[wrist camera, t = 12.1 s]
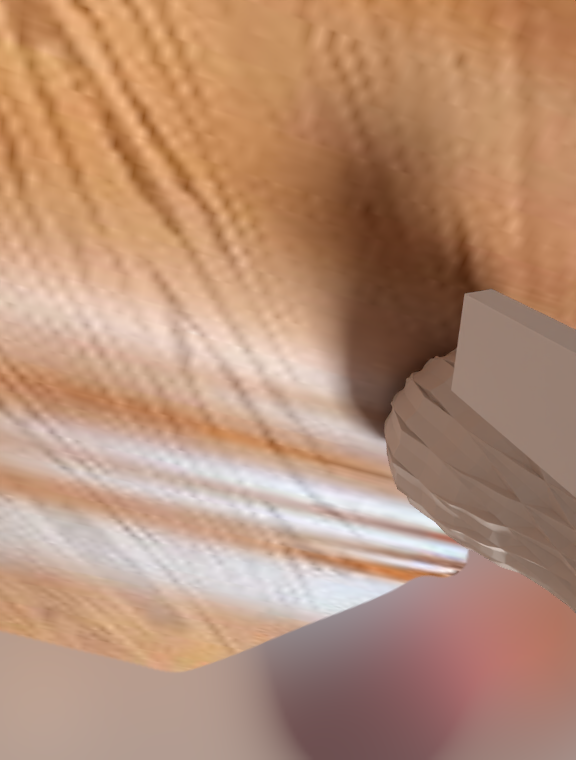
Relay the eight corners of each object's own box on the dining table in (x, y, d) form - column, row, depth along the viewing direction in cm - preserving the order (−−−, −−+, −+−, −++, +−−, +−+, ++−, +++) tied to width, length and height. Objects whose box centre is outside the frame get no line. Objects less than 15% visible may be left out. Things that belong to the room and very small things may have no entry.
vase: (498, 289, 51) (855, 460, 26) (522, 418, 62) (789, 626, 37) (335, 379, 51) (539, 642, 26) (388, 493, 62) (567, 755, 37)
